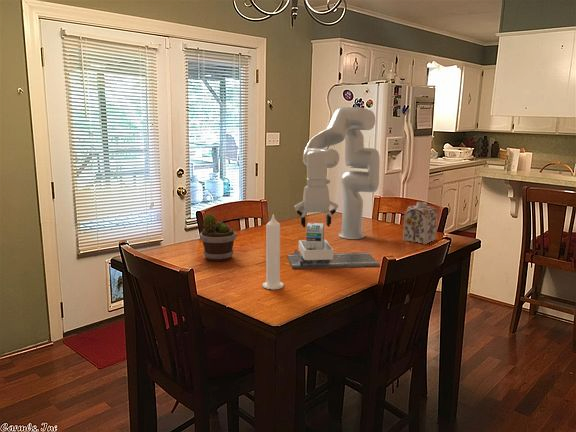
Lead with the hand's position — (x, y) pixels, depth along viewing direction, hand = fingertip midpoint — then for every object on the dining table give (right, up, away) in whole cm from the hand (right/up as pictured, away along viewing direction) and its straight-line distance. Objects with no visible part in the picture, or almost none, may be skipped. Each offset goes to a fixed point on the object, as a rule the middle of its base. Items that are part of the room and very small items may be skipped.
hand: (316, 226), depth 189 cm
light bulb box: (0, -10, +2) cm, 11 cm away
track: (+6, -14, +3) cm, 16 cm away
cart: (0, -13, +2) cm, 13 cm away
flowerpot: (-39, -13, +7) cm, 42 cm away
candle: (-16, -20, -25) cm, 36 cm away
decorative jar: (+51, -8, +37) cm, 63 cm away
